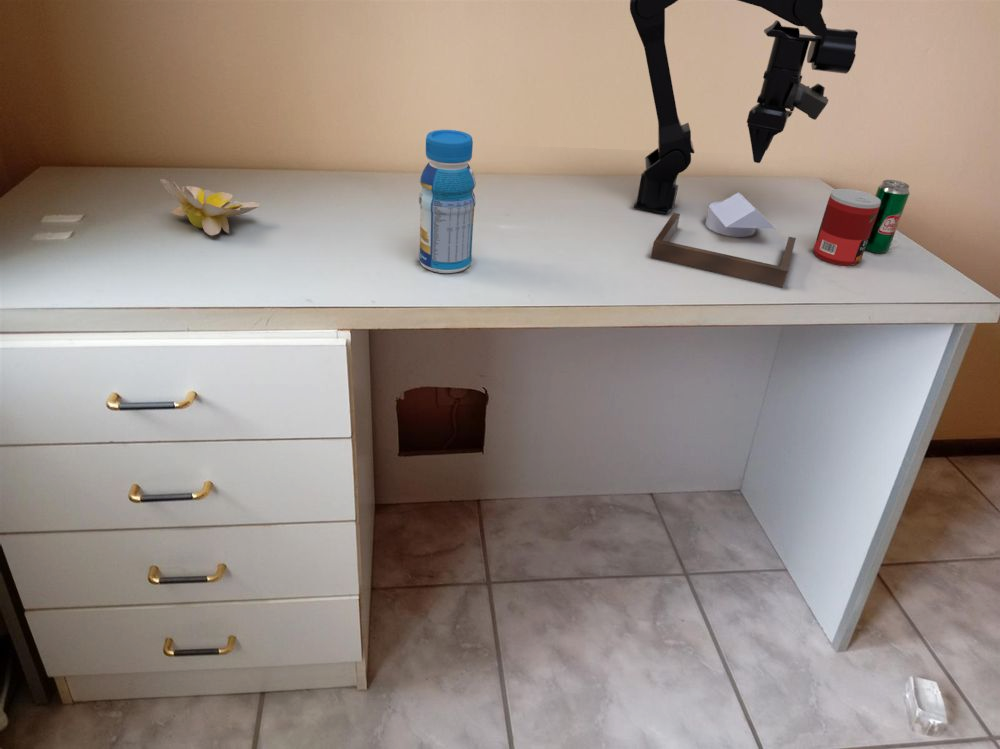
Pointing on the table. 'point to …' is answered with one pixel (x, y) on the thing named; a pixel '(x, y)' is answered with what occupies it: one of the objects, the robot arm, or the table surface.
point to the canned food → (846, 226)
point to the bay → (719, 258)
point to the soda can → (887, 214)
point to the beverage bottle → (447, 202)
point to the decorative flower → (206, 207)
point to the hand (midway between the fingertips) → (760, 156)
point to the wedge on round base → (735, 217)
